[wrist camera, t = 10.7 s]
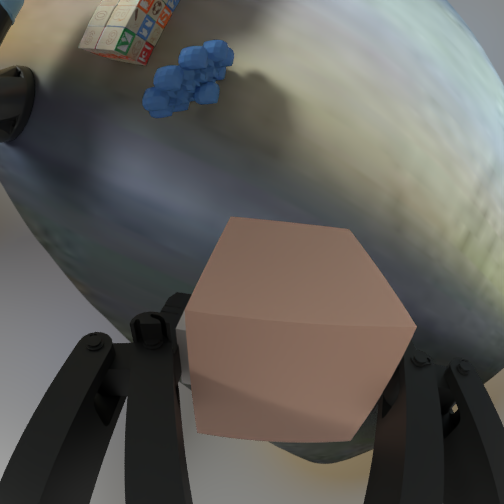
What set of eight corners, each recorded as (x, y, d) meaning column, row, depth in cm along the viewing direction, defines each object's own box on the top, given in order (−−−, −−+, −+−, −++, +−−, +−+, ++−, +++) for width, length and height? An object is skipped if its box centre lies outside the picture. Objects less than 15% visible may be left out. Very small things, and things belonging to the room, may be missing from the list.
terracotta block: (226, 315, 16) (197, 432, 9) (230, 216, 14) (184, 309, 6) (326, 324, 16) (350, 440, 9) (349, 229, 14) (416, 326, 6)
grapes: (193, 140, 34) (157, 142, 23) (160, 108, 32) (113, 99, 21) (259, 78, 30) (252, 50, 19) (223, 47, 28) (200, 10, 17)
